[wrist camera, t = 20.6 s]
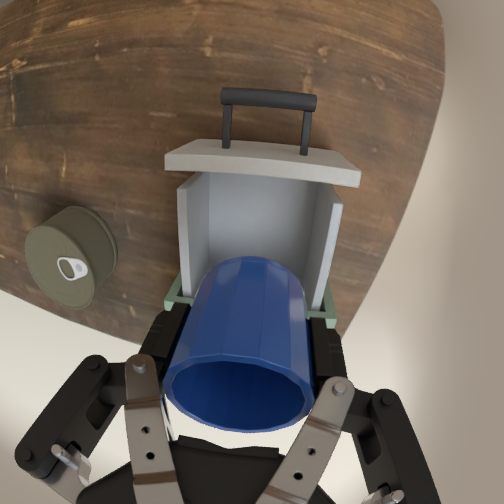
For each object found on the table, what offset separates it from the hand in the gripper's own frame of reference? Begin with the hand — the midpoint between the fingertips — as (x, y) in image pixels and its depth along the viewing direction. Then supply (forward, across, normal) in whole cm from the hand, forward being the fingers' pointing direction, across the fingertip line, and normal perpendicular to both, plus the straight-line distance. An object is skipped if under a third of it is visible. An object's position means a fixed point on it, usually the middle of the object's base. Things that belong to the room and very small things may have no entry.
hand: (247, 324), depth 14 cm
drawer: (+18, 0, -1) cm, 18 cm away
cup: (+2, 0, 0) cm, 2 cm away
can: (+19, +24, +8) cm, 32 cm away
